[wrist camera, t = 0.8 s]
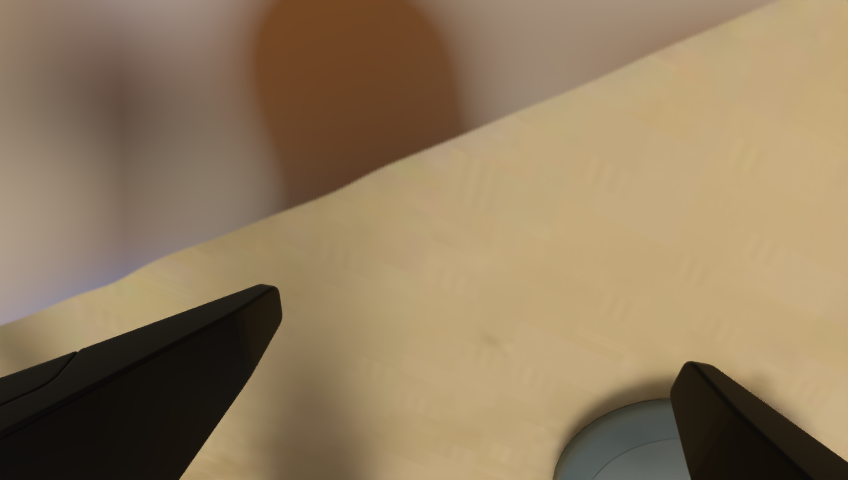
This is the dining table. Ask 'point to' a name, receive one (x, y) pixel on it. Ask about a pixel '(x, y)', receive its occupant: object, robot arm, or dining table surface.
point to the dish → (627, 446)
